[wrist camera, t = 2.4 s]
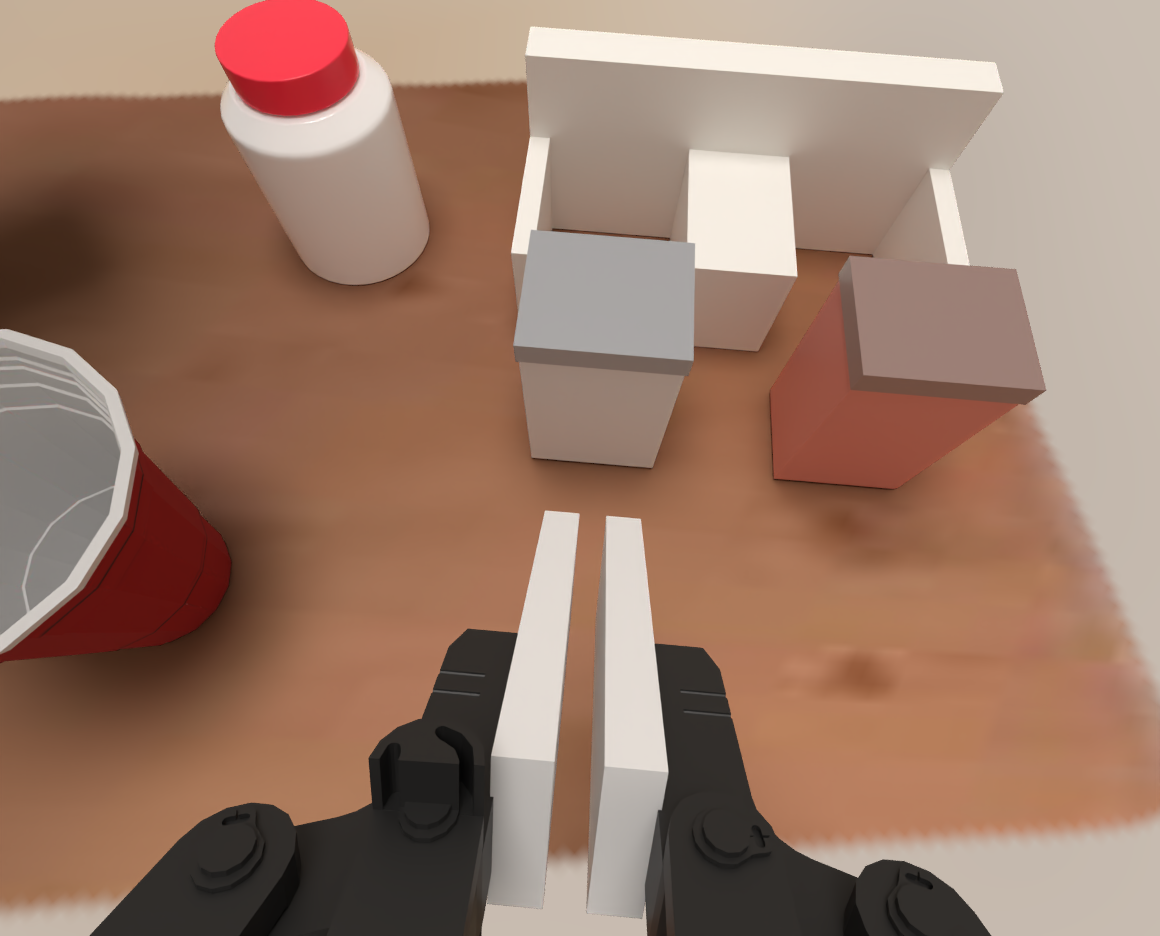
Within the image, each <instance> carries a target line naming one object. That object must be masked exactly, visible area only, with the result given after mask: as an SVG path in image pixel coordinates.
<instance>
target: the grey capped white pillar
mask: <svg viewBox="0 0 1160 936" xmlns="http://www.w3.org/2000/svg"><path fill="white" fill-rule="evenodd" d="M694 292H695V243H687V242H675V241H663V240H650V239H638V238H626V237H614V236H601V235H589V234H577V233H565V232H553V231H540V230H531V232H530V239H529V246H528V252H527V259H526V265H525V272H524V279H523V285H522V292H521V298H520V305H519V312H518V318H517V325H516V332H515V338H514V345H513V347H514V354H515V361H516V362H519V365H520V373H521V381H522V388H523V396H524V403H525V411H526V419H527V426H528V434H529V442H530V449H531V457H532V458H542V459H554V460H565V461H577V462H588V463H600V464H612V465H623V466H635V467H646V468H653V465H654V462H655V459H656V456H657V454H658V451H659V448H660V445H661V442H662V439H663V436H664V433H665V431H666V428H667V425H668V422H669V419H670V416H671V413H672V410H673V408H674V405H675V402H676V399H677V396H678V393H679V390H680V387H681V385H682V382H683V379H684V376H688V375H689V372H690V369H691V367H692V364H693V361H694Z"/></svg>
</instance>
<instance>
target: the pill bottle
mask: <svg viewBox="0 0 1160 936" xmlns="http://www.w3.org/2000/svg"><path fill="white" fill-rule="evenodd" d="M215 52H216V56H217V58H218V60H219V62H220V64H221V65H222V67H223V69H224V71H225V73H226V75H227V77H228V79H229V80H228V82H227V84H226V86H225V89H224V91H223V93H222V98H221V104H220V110H221V117H222V121H223V123H224V125H225V127H226V130H227V132H228V134H229V135H230V137H231V139H232V141H233V142H234V144H235V146H236V148H237V149H238V151H239V153H240V155H241V156H242V158H243V160H244V161H245V163H246V165H247V167H248V168H249V170H250V172H251V174H252V175H253V177H254V179H255V181H256V182H257V184H258V186H259V187H260V189H261V191H262V193H263V194H264V196H265V198H266V200H267V201H268V203H269V205H270V206H271V208H272V210H273V212H274V213H275V215H276V217H277V219H278V220H279V222H280V224H281V225H282V227H283V229H284V231H285V232H286V234H287V236H288V238H289V239H290V241H291V243H292V245H293V246H294V248H295V250H296V251H297V253H298V255H299V257H300V258H301V260H302V261H303V263H304V264H305V265H306V266H307V267H308V269H310V270H311V271H312V272H314V273H315V274H316V275H318V276H319V277H322V278H324V279H326V280H328V281H331V282H335V283H339V284H346V285H364V284H371V283H376V282H380V281H383V280H386V279H388V278H391V277H393V276H395V275H397V274H399V273H400V272H402V271H404V270H405V269H407V268H408V267H409V266H410V265H411V264H413V263H414V262H415V261H416V260H417V258H418V257H419V256H420V254H421V253H422V252H423V250H424V248H425V246H426V244H427V241H428V237H429V233H430V231H429V219H428V216H427V212H426V209H425V205H424V201H423V198H422V194H421V190H420V187H419V183H418V180H417V176H416V172H415V169H414V165H413V161H412V158H411V154H410V151H409V147H408V143H407V140H406V136H405V133H404V129H403V125H402V122H401V118H400V114H399V111H398V107H397V104H396V100H395V96H394V93H393V89H392V86H391V83H390V79H389V77H388V76H387V74H386V72H385V71H384V69H383V68H382V66H381V65H380V64H379V63H377V61H376V60H375V59H373V58H372V57H371V56H369V55H368V54H366V53H364V52H363V51H361V50H359V49H358V48H356V47H354V45H353V42H352V39H351V36H350V33H349V29H348V26H347V24H346V22H345V20H344V18H343V17H342V15H340V14H339V13H338V12H337V11H336V10H335V9H333V8H332V7H330V6H328V5H327V4H324V3H322V2H318V1H316V0H266V1H263V2H259V3H255V4H253V5H251V6H248V7H246V8H244V9H242V10H241V11H239V12H237V13H236V14H234V15H233V16H232V17H231V18H229V19H228V20H227V21H226V22H225V24H224V25H223V26H222V27H221V28H220V30H219V32H218V34H217V36H216V41H215Z"/></svg>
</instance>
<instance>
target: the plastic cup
mask: <svg viewBox="0 0 1160 936" xmlns="http://www.w3.org/2000/svg"><path fill="white" fill-rule="evenodd" d="M230 570H231V559H230V556H229V554H228V551H227V548H226V545H225V542H224V541H223V539H222V536H221V534H220V533H219V532H218V531H216V530H215V529H214V528H213V527H212V526H211V525H210V524H209V523H208V522H207V521H206V520H205V519H204V518H203V517H202V516H201V515H200V513H199V510H198V509H197V508H196V507H195V506H194V505H193V504H192V502H191V501H190V500H189V499H188V498H187V497H186V496H185V495H184V494H183V493H182V492H181V491H180V490H179V489H178V488H177V487H176V486H175V485H174V484H173V483H172V482H171V481H170V480H169V479H168V478H167V477H166V475H165V474H164V473H163V472H162V471H161V470H160V469H159V468H158V467H157V466H156V465H155V464H154V463H153V462H152V461H151V460H150V459H149V458H148V457H147V456H146V455H145V454H144V453H143V452H142V449H141V446H140V444H139V443H138V442H137V441H136V440H135V439H134V437H133V434H132V431H131V428H130V425H129V422H128V419H127V416H126V412H125V409H124V406H123V403H122V400H121V397H120V395H119V393H118V391H117V389H115V388H114V387H113V386H112V385H111V384H110V383H109V382H108V381H107V380H106V379H104V378H103V377H102V376H101V375H100V374H99V373H98V372H97V371H96V370H95V369H93V368H92V367H91V366H90V365H89V364H88V363H87V362H86V361H85V360H84V359H82V358H81V357H80V356H79V355H78V354H77V353H76V352H75V351H74V350H73V349H70V348H67V347H63V346H60V345H57V344H54V343H51V342H47V341H44V340H41V339H38V338H35V337H31V336H28V335H25V334H22V333H19V332H15V331H12V330H9V329H0V663H2V662H4V661H12V660H23V659H34V658H46V657H57V656H68V655H79V654H89V653H98V652H108V651H117V650H120V649H127V648H138V647H148V646H157V645H162V644H164V643H166V642H171V641H173V640H175V639H178V638H180V637H182V636H184V635H186V634H188V633H190V632H192V631H194V630H196V629H197V628H198V627H199V626H200V625H201V624H202V623H203V622H204V621H205V620H206V619H207V618H208V617H209V616H210V615H211V614H212V613H213V612H215V611H216V609H217V607H218V605H219V604H220V602H221V600H222V598H223V596H224V594H225V592H226V590H227V588H228V586H229V579H230Z"/></svg>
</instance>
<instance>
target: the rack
mask: <svg viewBox="0 0 1160 936" xmlns="http://www.w3.org/2000/svg"><path fill="white" fill-rule="evenodd" d="M525 58H526V73H527V74H526V75H527V91H528V108H529V124H530V141H529V147H528V153H527V159H526V165H525V172H524V178H523V184H522V190H521V196H520V202H519V208H518V214H517V220H516V226H515V232H514V238H513V244H512V250H511V257H512V265H513V274H514V282H515V291H516V299H517V308H518V312H519V305H520V298H521V292H522V285H523V279H524V272H525V265H526V259H527V252H528V246H529V239H530V232H531V230H540V231H552V228H556V229H568V230H580V231H592V232H605V233H617V234H629V235H641V236H654V237H666V238H670V241H675V242H687V243H695V292H694V346H698V347H710V348H722V349H734V350H746V351H759V349H760V347H761V345H762V343H763V341H764V339H765V337H766V335H767V333H768V331H769V330H770V328H771V326H772V324H773V322H774V320H775V318H776V316H777V314H778V312H779V311H780V309H781V307H782V305H783V303H784V301H785V299H786V297H787V295H788V293H789V292H790V290H791V288H792V286H793V284H794V282H795V280H796V278H797V264H796V250H795V248H800V249H813V250H825V251H837V252H849V253H862V254H873V258H883V259H895V260H907V261H919V262H932V263H944V264H956V265H968V266H970V264H969V260H968V255H967V250H966V246H965V241H964V236H963V232H962V227H961V222H960V217H959V212H958V208H957V203H956V198H955V194H954V189H953V184H952V180H951V175H950V169H951V167H952V166H953V164H954V163H955V162H956V160H957V158H958V157H959V156H960V154H961V153H962V152H963V150H964V149H965V147H966V146H967V144H968V143H969V142H970V140H971V139H972V137H973V136H974V134H975V133H976V132H977V130H978V129H979V127H980V126H981V125H982V123H983V122H984V120H985V118H986V117H987V116H988V115H989V113H990V112H991V110H992V109H993V107H994V106H995V105H996V103H997V102H998V100H999V99H1000V97H1001V96H1002V94H1003V93H1004V92H1003V88H1002V84H1001V81H1000V77H999V74H998V70H997V67H996V63H994V62H981V61H968V60H955V59H941V58H930V57H917V56H904V55H890V54H878V53H864V52H853V51H839V50H827V49H814V48H800V47H788V46H775V45H762V44H749V43H737V42H724V41H711V40H698V39H685V38H672V37H658V36H647V35H633V34H621V33H608V32H607V33H606V32H595V31H582V30H569V29H555V28H543V27H530V32H529V38H528V44H527V49H526V54H525Z"/></svg>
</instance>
